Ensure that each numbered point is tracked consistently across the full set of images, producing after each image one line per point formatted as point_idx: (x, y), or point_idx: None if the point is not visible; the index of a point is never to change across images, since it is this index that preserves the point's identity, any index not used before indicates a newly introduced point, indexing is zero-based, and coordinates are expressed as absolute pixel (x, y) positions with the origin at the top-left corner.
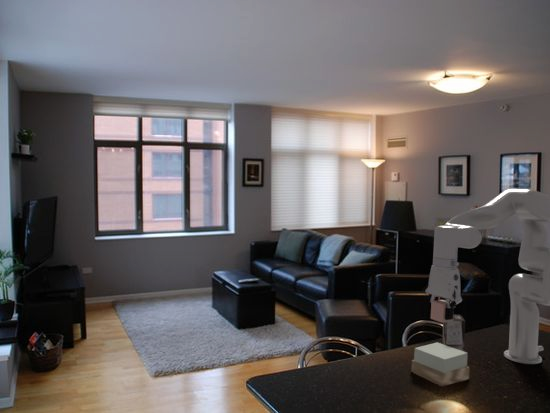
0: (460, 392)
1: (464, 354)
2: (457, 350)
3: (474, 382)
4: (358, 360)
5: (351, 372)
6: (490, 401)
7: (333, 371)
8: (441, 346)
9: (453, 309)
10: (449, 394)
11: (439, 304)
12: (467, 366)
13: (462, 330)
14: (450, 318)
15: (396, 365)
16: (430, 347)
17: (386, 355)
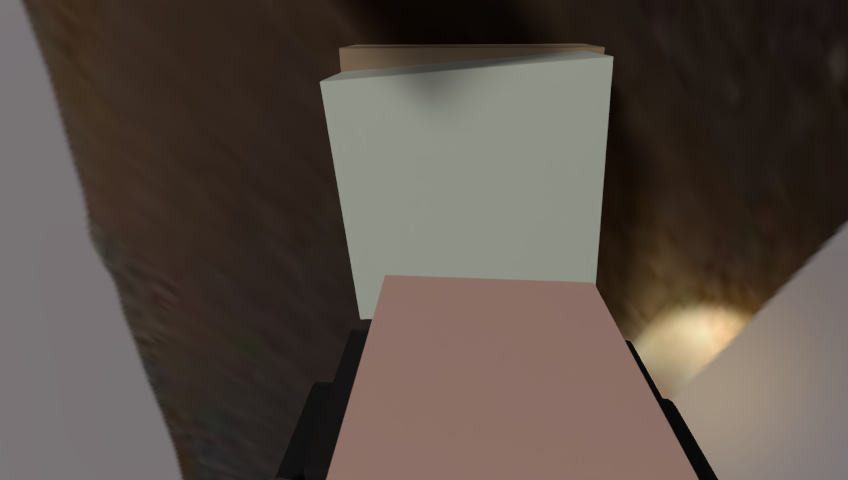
0: (650, 227)
1: (608, 98)
2: (532, 87)
3: (631, 56)
4: (173, 348)
5: (281, 436)
6: (799, 185)
7: (253, 473)
8: (409, 133)
9: (657, 403)
10: (630, 283)
11: None
12: (590, 51)
13: None
14: None
15: (275, 250)
16: (391, 223)
17: (138, 199)
